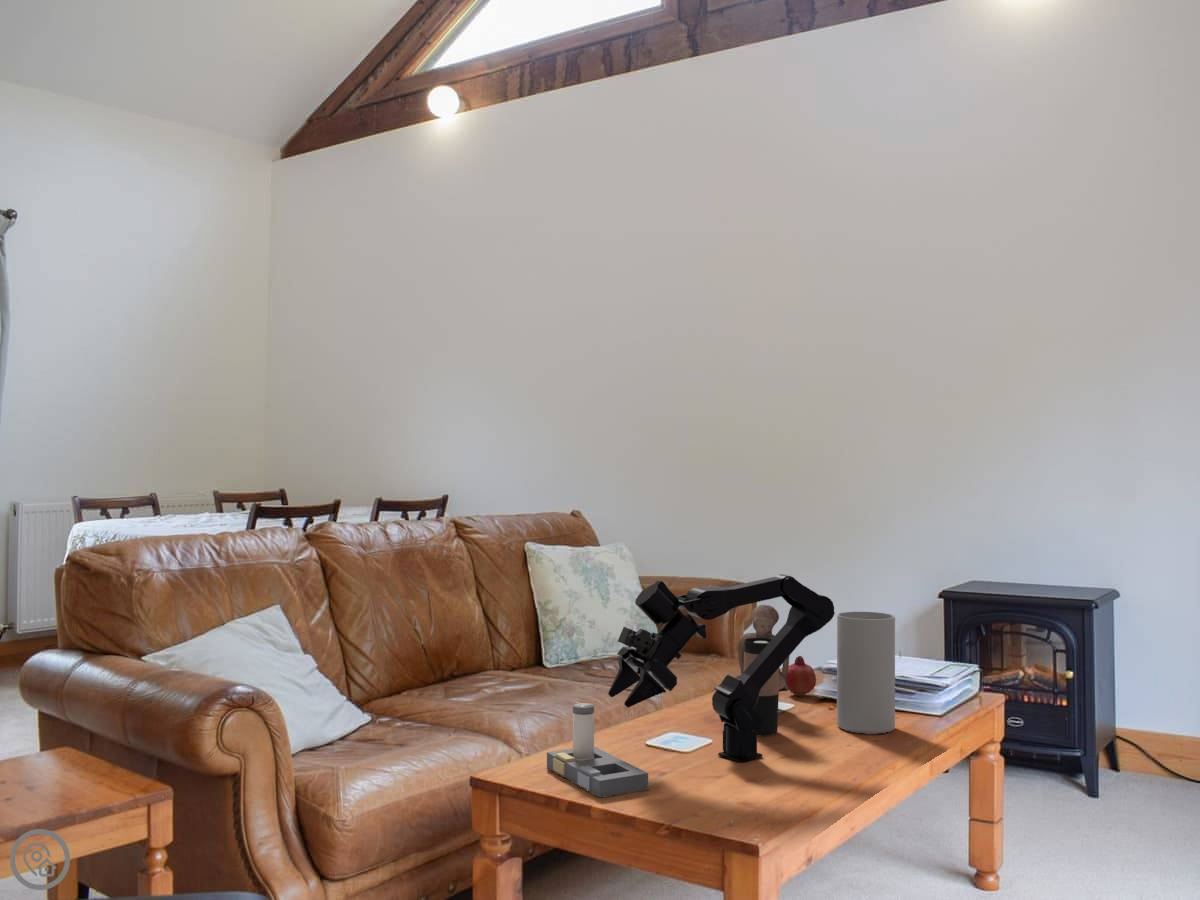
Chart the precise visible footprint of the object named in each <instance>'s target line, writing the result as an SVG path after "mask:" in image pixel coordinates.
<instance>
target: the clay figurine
mask: <svg viewBox="0 0 1200 900" xmlns="http://www.w3.org/2000/svg"><path fill="white" fill-rule="evenodd" d="M779 618H780V616H779V612H778V611H777V609H775V607H774V606H772V605H767V604H759V605H757V606H756V607H755V608H754V609H752V612H751V620H752V627H753V629H754V630H755V632H748V633H744V634H743V635H741V636H740V638H739V640H738V644H737V650H738V651H737V652H738V653H737V654H738V663H739V669H740V675H741V674H742V673H743V672H744V640H745V639H748V638H770V639H773V638H774V636H775V635H776V634H773V629H774V626H775V625H776V624H777V623H778V621H779ZM789 665H790V656H789V657H788V658H787V659H786V660H785V661H784V662H783V664H782V668H781V669H780V667H779V693H781V692H788V691H789V690H788V687H787V685H786V681H785V679H784V678H786V676H787V672H788V667H789Z"/></svg>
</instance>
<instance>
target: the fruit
mask: <svg viewBox="0 0 1200 900" xmlns="http://www.w3.org/2000/svg"><path fill="white" fill-rule="evenodd" d="M784 679H785V681H786V685H787V687H788V691H789V692H790V693H792V694H794V695H797V696H800V695H801V696H802V695H803V696H804V695H807V694H809V693H811V692H812V691H813V690H814V688H815V687H816V684H817V676H816V673H815V670H814V669H813V667H812V666H811V665H809V664H807V663H806V662H805V659H804V657H803V655H798V656H796V657H795V660H794V663H791V664H789V667H788V672H787V676H786V678H784Z"/></svg>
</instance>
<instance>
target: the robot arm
mask: <svg viewBox="0 0 1200 900" xmlns="http://www.w3.org/2000/svg"><path fill="white" fill-rule="evenodd" d="M775 598H776V599H777V598H783V600H784V601H785V602H786V603H787V604H788V605H790V606H791V607H790V609H789V611H788V615H787V618H786V621H785V623H784V625H783V626H781V628H780V629H779V630H778V632H777V633H776V634H774V635H775V636H774V638H773V639H772V640H771V641H770V642H769V643H768V644H767V646H766V647H765V648H764V649H763V650H762V651H761V653H760V654H759V655H758V656H757V657H756V658H755V659H754V661H753V662H752V663H751V664H750V665H749V666H748V668H747V669H746V670H745V671H744V672H743V673H742V674H741V673H740V675H737V676H736V677H735V676H733V675H730V674H727V675H726V676H725V677H724V678H723V679H722V681H721V683H720V684H719V685H717V686H716V687H714V688H713V689H714V690H715V692H714V693H713V695H712V697H711V701H712V702H711V705H712V708H713V710H714V712H715V713H717V714H718V716H719V719H720V722H722V723H723V730H722V751H721V752H718V753H717V756H719V757H723V758H725V759H729V760H733V761H736V762H738V763H743V762H746V761H751V760H755V759H759V758H760V759H761V758H763V754H762V753H759V752H758V736H757V730H760V728H761V725H762V722H763V719H762V718H761V717H760V716H759V715H758V714H757V713H756V712H755V711H754V710H753V709H754V707H755V705H756V704H757V700H758V697H759V693H760V690H761V688H762V687H763V686H764V685H765V684H766V682H767V681H768V680H769V679H770V678H771V677H772V675H773V674H774V673H775V672H776V671H777V669H778V668H780V667H781V666H783V662H784V661H785V660H786V659H787V658H788V657H789V658H790V656H791V654H792V653H793V652H794V651H795V650H796V649H797V648H798V646H799V645H800V644H801V643H802V642H803V640H804V639H806V637H808V636H810V635H812V634H814V633H816V632H819V631H820V630H821V629H823V627H825V626H826V625H827V624H828V623H830V622H831V621H832V620H833V617H834V616H835V614H836V613H835V606H834V605H835V604H834V603H833V601H832V599H830V597H828V596H826V595H822V594H818V593H817V592H815V591H814V590H813V589H810V588H809V587H807V586H806V585H804V584H802V583H801V582H799V581H798V580H797V579H796V578H795V577H793V576H792V575H787V574H776V575H775V576H773V577H768V578H763V579H758V580H754V581H750V582H743V583H740V584H736V585H731V586H727V587H723V586H721V587H720V586H719V587H715V586H713V587H712V586H707V587H706V586H705V587H704V586H703V587H700V586H699V587H698V586H697V587H692V588H691V589H689V590H688V591H687V593H685V594H680V595H675V594H674V593H673V592H672V591H671V590H670V589H669V588H668V586H667V585H666V583H665V582H664V581H663V580H659V579H657V580H656V581H655V582H654V583H653V584H650V585H649V586H647V587H646V588H645V589H643V590H641V592H639V594H638V595H637V597H636V598H635V602H634V604H635V605H636V607H638V608H639V610H640V611H642V612H643V613H644V614H645V615H646V617H647V618H649V620H650V621H651V622H652V623H653V624H654V625H658V624H662V625H663V626H662V627H661V628H660V629H659V631H657V633H656V632H650V631H648V630H646V629H643V628H639V629H638V630H637V631H636V630H633V629H631V628H628V627H626V626H623V628H622V630H621V633H620V635H619V637H618V639H617V642H618V643H621V644H623V645H625V646H622V647H621V649H619V650H618V652H617V653H616V654H617V661H618V671H617V674H616V675H615V677H614V680H613V681H612V684H611V686H610V688H609V689H608V692H607V694H608V695H609V697H610V698H613V697H615V696H617V695H619V694H620V693H623V692H624V691H625V690H627V689H628V688H630V687H631V686H634V685H635V686H634V688H633V689H632V690H631V692H630V693H629V695H628V696H627V698H626V699H625V701H624V706H625V707H626V708H630V707H632V706H635V705H637V704H640V703H641V702H644V701H646V700H649V699H651V698H653V697H655V696H658V695H661V694H665V693H667V691H669V692H672V691H673V690H674V688H675V687H676V686H677V685H678V677H677V676H676V675H675V674H674V673H673V672H672V670H671V669H670V668H668V666H669V665H671V663H672V662H673V661H674V659H676V660H680V658H681V657H682V654H680V652H681V651H683V649H684V648H685V647H686V645H687V644H688V643H689V642H690V641H691V640H692V639H693V638H694V636H696V637H697V638H700V639H703V640H705V639H707V632H706V629H707V628H706V627H707V625H706V624H704V623H698V622H697V621H696V619H694V617H696V618H698V619H702V620H705V621H710V620H714V619H717V618H718V617H721V616H724V615H725V614H728V612H730V611H732V610H733V609H735V608H737V607H741V606H746V605H749V604H754V603H755V604H756V603H760V602H763V601H768V600H771V599H775ZM681 610H683V611H686V612H687V613H688V614H684V613H683V612H682V611H681Z"/></svg>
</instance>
